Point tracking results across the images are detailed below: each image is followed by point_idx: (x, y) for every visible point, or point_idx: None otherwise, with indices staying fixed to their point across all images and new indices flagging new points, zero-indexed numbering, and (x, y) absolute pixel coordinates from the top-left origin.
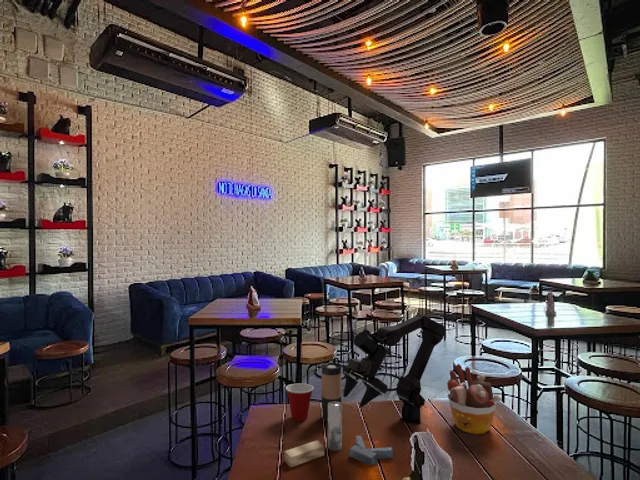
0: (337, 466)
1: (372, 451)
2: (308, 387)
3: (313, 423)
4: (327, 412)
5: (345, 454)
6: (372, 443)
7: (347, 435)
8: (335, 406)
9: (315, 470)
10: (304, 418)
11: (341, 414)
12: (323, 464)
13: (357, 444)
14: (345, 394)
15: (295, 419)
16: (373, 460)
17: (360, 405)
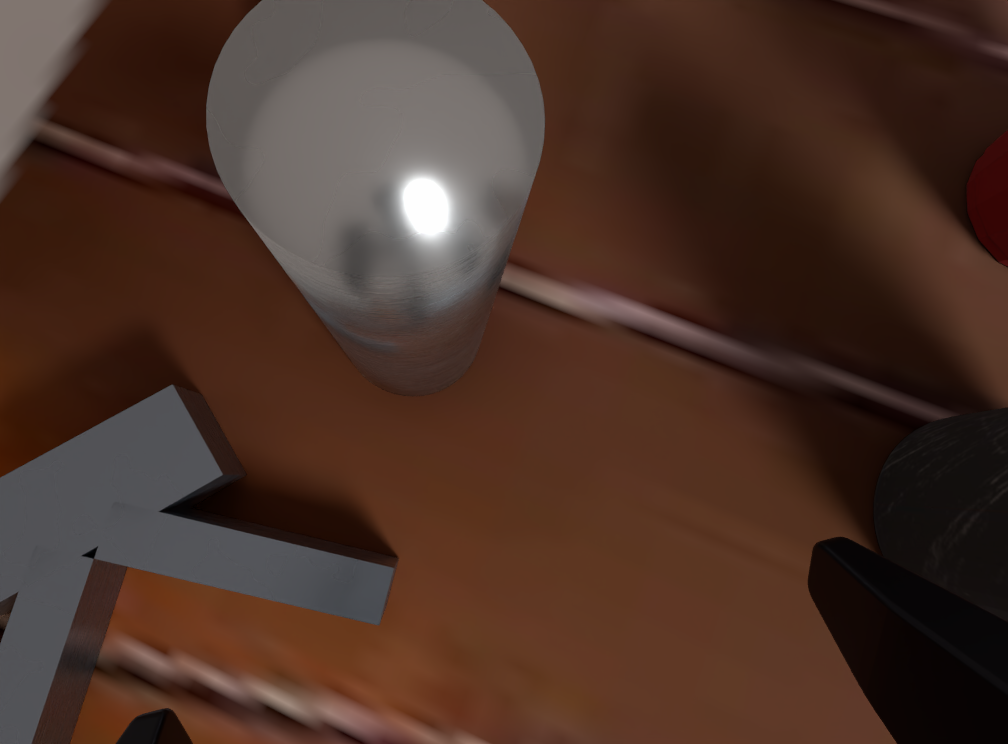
0: (108, 228)
1: (16, 604)
2: None
3: (901, 297)
4: (968, 435)
5: (257, 372)
6: (335, 729)
7: (575, 535)
8: (263, 82)
9: (137, 39)
10: (988, 222)
11: (306, 292)
12: (190, 129)
13: (326, 543)
14: (848, 599)
15: (995, 141)
16: None
17: (131, 726)
